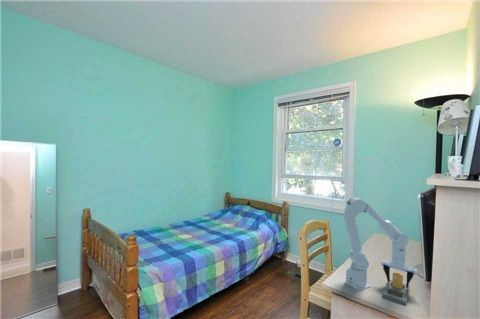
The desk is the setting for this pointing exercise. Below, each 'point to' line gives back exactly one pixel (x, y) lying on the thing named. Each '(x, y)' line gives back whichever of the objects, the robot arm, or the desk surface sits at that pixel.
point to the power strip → (397, 291)
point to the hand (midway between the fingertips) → (397, 284)
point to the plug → (397, 280)
